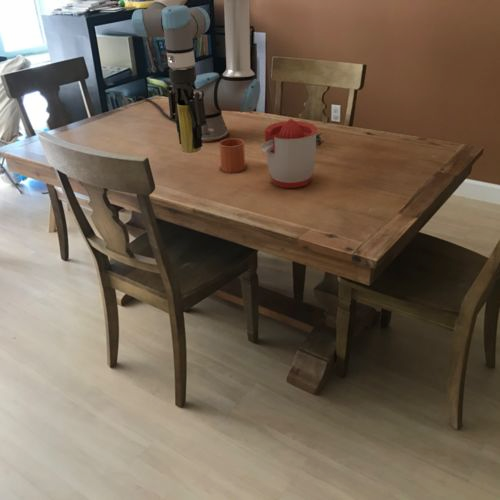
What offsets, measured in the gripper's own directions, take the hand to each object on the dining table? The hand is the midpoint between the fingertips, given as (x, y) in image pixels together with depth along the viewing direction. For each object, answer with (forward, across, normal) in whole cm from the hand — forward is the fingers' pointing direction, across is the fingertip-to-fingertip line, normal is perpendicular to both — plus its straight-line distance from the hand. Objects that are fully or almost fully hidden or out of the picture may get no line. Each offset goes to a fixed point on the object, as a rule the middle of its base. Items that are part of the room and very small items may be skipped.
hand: (190, 145), depth 157 cm
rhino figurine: (+14, +9, +50) cm, 52 cm away
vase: (+2, 0, 0) cm, 2 cm away
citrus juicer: (+13, +23, +19) cm, 33 cm away
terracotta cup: (+13, +1, +17) cm, 21 cm away
